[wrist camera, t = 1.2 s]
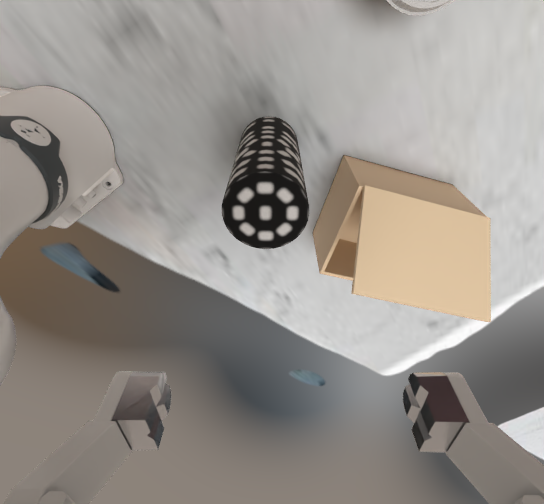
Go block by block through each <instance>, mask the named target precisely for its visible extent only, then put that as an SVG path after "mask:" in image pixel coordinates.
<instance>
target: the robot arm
mask: <svg viewBox="0 0 544 504" xmlns="http://www.w3.org/2000/svg"><path fill="white" fill-rule="evenodd" d="M108 182H110V183H111V185H109V184H108ZM122 183H123V176H122V174H121V172H120V170H119V168H118V166H117V164H116V161H115V154H114V146H113V142H112V139H111V136H110V134H109V132H108V129H107V128H106V126H105V124H104V123H103V121H102V120H101V118H100V117H99V116H98V115H97V114H96V112H95V111H94V110H93V109H92V108H91V107H90V106H89V105H87V104H86V103H85V102H84V101H82V100H81V99H79V98H78V97H76V96H75V95H73V94H71V93H69V92H67V91H64V90H62V89H59V88H55V87H50V86H34V87H29V88H26V89H22V90H15V89H10V88H4V87H0V258H1V256H2V254H3V252H4V251H5V250H6V248H7V247H8V246H9V245H10V244H11V243H12V242H13V241H14V240H15V239H16V238H17V236H19V234H20V233H22V232H23V231H24V230H25V229H26V228H27V227H31V228H36V229H45V228H47V227H48V226H49V225H51V226H54V227H58V228H68V227H69V226H71V225H72V224H73V223H74V222H76V221H77V220H78V219H79V218H81V217H82V216H83V215H84V214H86V213H87V212H88V211H89V210H91V209H92V208H93V207H94V206H96V205H97V204H98V203H99V202H101V201H102V200H103V199H104V198H105V197H107V196H108V195H109V194H110V193H112V192H113V191H114V190H115V189H117V188H118V187H119V186H120V185H121V184H122ZM15 349H16V332H15V326H14V323H13V319H12V318H11V316H10V315H9V313H8V311H7V309H6V308H5V306H4V304H3V302H2V299H1V296H0V385H1V384H2V382H3V381H4V379H5V377H6V375H7V374H8V372H9V369H10V367H11V365H12V362H13V359H14V355H15ZM166 379H167V377H166V374H165V372H134V371H130V372H129V371H123V372H122V371H118V372H117V373H116V374H115V376H114V377H113V379H112V381H111V383H110V386H109V388H108V390H107V392H106V394H105V396H104V398H103V401H102V403H101V405H100V407H99V409H98V411H97V413H96V416H95V418H94V420H93V421H88V422H87V423H86V424H84V425H83V427H81V428H80V429H79V430H78V431H77V432H75V433H74V434H73V435H72V436H71V437H70V438H69V439H67V440H66V441H65V442H64V443H63V444H62V445H61V446H60V447H59V448H57V449H56V450H55V451H54V452H53V453H52V454H51V455H49V456H48V457H47V458H46V459H45V460H44V461H43V462H41V463H40V464H39V465H38V466H37V467H36V468H35V469H33V470H32V471H31V472H30V473H29V474H28V475H27V476H26V477H25V478H23V479H22V480H21V481H20V482H19V483H18V484H17V485H15V486H14V487H13V488H12V489H11V491H10V492H9V494H8V496H7V498H6V499H5V501H4V503H3V504H89V503H90V502H91V501H92V500H93V499H94V497H95V496H96V495H97V494H98V492H99V491H100V490H101V489H102V488H103V487H104V485H105V484H106V483H107V482H108V480H109V479H110V478H111V477H112V476H113V474H114V473H115V472H116V471H117V470H118V468H119V467H120V466H121V465H122V463H123V462H124V461H125V460H126V459H127V457H128V456H129V455H130V454H131V452H132V451H131V450H158V448H159V445H160V441H161V438H162V435H163V431H164V427H163V424H162V420H163V419H164V418H165V417H166V416H167V415H168V412H169V409H170V404H171V389H170V386H169V385H168V384H166ZM408 380H409V383H410V384H409V385H407V386H406V387H405V389H404V392H403V403H404V408H405V412H406V415H407V417H408V418H410V419H411V420H412V421H413V422H414V425H413V427H412V433H413V435H414V438H415V441H416V444H417V447H418V450H419V451H420V452H446V455H447V456H448V457H449V458H450V459H451V460H452V462H453V463H454V464H455V465H456V466H457V467H458V468H459V470H460V471H461V472H462V473H463V474H464V475H465V476H466V478H467V479H468V480H469V481H470V482H471V483H472V484H473V486H474V487H475V488H476V489H477V490H478V491H479V492H480V494H481V495H482V496H483V497H484V498H485V499H486V500H487V502H488V503H489V504H544V465H543V464H541V462H539V461H538V460H537V459H536V458H535V457H533V456H532V455H531V454H530V453H528V452H527V451H526V450H525V449H524V448H522V447H521V446H520V445H519V444H518V443H516V442H515V441H514V440H513V439H512V438H510V437H509V436H508V435H507V434H506V433H504V432H503V431H502V430H501V429H500V428H498V427H497V426H496V425H495V424H494V423H488V422H487V420H486V418H485V416H484V414H483V412H482V410H481V409H480V407H479V405H478V403H477V401H476V400H475V397H474V396H473V394H472V392H471V390H470V388H469V387H468V385H467V383H466V381H465V379H464V377H463V376H462V375H461V374H460V373H441V372H434V373H412V374H410V376H409V378H408Z"/></svg>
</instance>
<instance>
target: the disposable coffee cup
mask: <svg viewBox="0 0 544 504" xmlns="http://www.w3.org/2000/svg"><path fill="white" fill-rule="evenodd" d="M453 1H455V0H387V2H388V3H389V4H390V5H391V6H392V7H393V8H395V9H396V10H398V11H400V12H402V13H405V14H408V15H416V16H419V15H427V14H431V13H434V12H436V11H439V10H441V9H443V8H445V7H446V6H448V5H449V4H451V3H452V2H453Z"/></svg>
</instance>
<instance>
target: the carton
mask: <svg viewBox="0 0 544 504" xmlns="http://www.w3.org/2000/svg"><path fill="white" fill-rule="evenodd" d="M365 185H366V186H370V187H374V188H378V189H382V190H385V191H389V192H393V193H397V194H401V195H404V196H408V197H412V198H416V199H420V200H424V201H427V202H431V203H435V204H439V205H443V206H446V207H450V208H454V209H458V210H462V211H465V212H469V213H473V214H477V215H481V216H485V215H484V214H483V213H482V212H481V211H480V210H479V209H478V208H477V207H476V206H475V205H474V204H473V203H472V202H470V201H469V200H468V199H467V198H466V197H465V196H464V195H463V194H462V193H461V192H460V191H459V190H458V189H457V188H455V187H454V186H453V185H452V184H448V183H445V182H441V181H437V180H434V179H430V178H426V177H423V176H419V175H415V174H412V173H408V172H404V171H401V170H397V169H393V168H390V167H386V166H383V165H379V164H375V163H372V162H368V161H364V160H361V159H357V158H353V157H350V156H346V155H343V158H342V160H341V163H340V166H339V168H338V171H337V173H336V176H335V178H334V181H333V183H332V186H331V188H330V191H329V193H328V196H327V198H326V201H325V203H324V206H323V208H322V211H321V213H320V216H319V218H318V221H317V223H316V226H315V228H314V231H313V237H314V243H315V249H316V255H317V261H318V266H319V272H320V274H325V275H329V276H334V277H339V278H343V279H348V280H352V281H353V275H354V266H355V257H356V248H357V239H358V230H359V221H360V211H361V202H362V193H363V187H364V186H365ZM485 217H487V216H485Z"/></svg>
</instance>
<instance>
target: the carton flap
mask: <svg viewBox="0 0 544 504" xmlns="http://www.w3.org/2000/svg"><path fill="white" fill-rule="evenodd" d="M351 294H356V295H361V296H366V297H370V298H375V299H380V300H385V301H389V302H394V303H399V304H404V305H408V306H413V307H418V308H423V309H427V310H432V311H437V312H442V313H447V314H451V315H456V316H461V317H466V318H470V319H475V320H480V321H485V322H491V280H490V218H488V217H485V216H481V215H477V214H473V213H469V212H465V211H462V210H458V209H454V208H450V207H446V206H443V205H439V204H435V203H431V202H427V201H424V200H420V199H416V198H412V197H408V196H404V195H401V194H397V193H393V192H389V191H385V190H382V189H378V188H374V187H370V186H366V185H365V186H364V187H363V193H362V202H361V211H360V221H359V230H358V239H357V248H356V257H355V266H354V275H353V284H352V293H351Z"/></svg>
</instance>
